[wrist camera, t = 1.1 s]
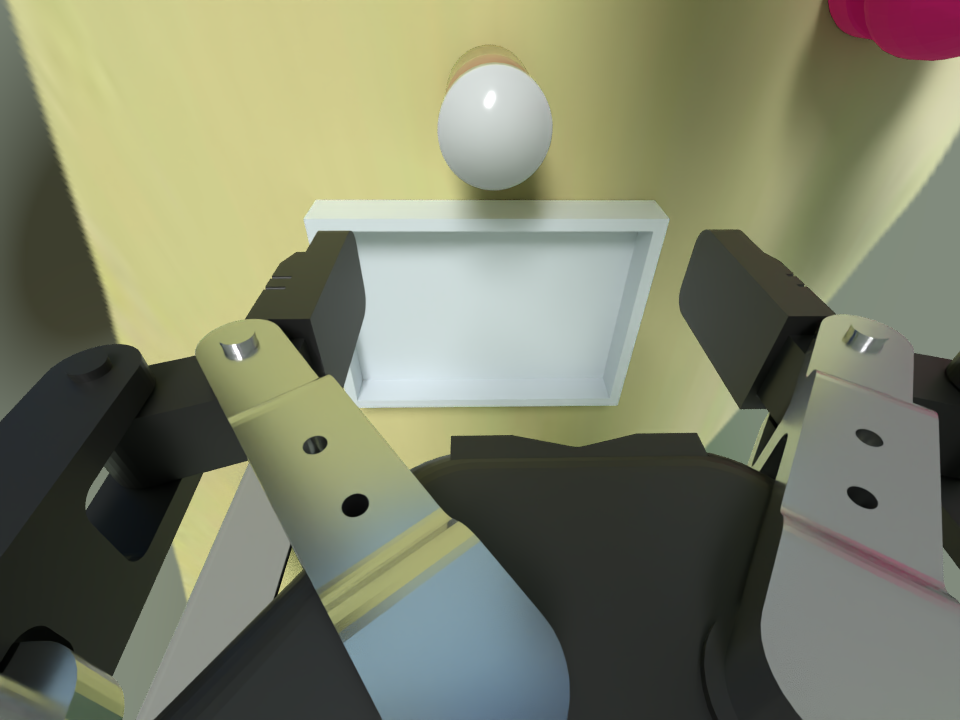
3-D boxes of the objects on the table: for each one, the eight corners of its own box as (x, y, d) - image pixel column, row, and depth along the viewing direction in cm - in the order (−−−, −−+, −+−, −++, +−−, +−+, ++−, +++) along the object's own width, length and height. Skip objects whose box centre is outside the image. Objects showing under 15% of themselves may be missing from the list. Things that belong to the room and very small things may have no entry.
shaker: (442, 42, 25) (434, 65, 19) (536, 42, 25) (558, 66, 19) (446, 142, 28) (440, 190, 22) (529, 142, 28) (546, 190, 22)
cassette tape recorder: (302, 510, 53) (208, 820, 34) (245, 498, 51) (111, 817, 32) (332, 436, 45) (232, 786, 26) (267, 418, 43) (106, 779, 24)
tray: (315, 199, 30) (303, 218, 28) (654, 200, 31) (669, 218, 28) (355, 382, 40) (349, 407, 38) (609, 380, 41) (617, 405, 39)
